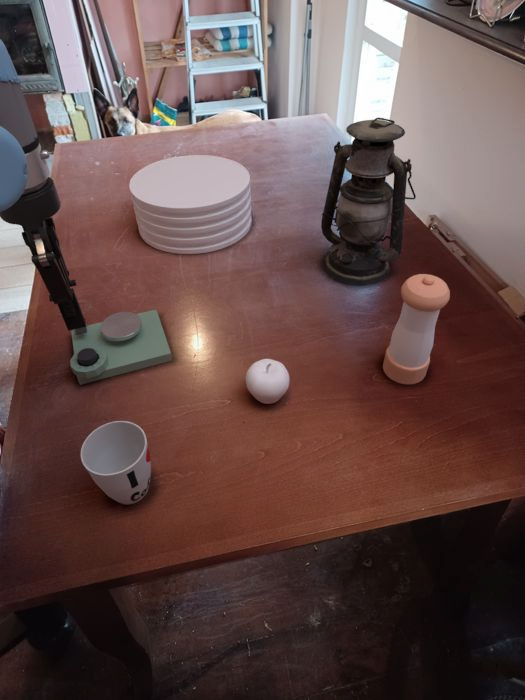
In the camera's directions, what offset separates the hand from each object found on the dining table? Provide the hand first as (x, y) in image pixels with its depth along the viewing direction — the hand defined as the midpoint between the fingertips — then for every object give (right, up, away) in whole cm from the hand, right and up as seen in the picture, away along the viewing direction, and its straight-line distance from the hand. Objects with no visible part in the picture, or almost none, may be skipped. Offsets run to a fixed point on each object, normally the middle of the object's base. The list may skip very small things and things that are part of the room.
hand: (76, 325), depth 75 cm
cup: (+11, -23, -8) cm, 27 cm away
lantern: (+51, +16, +31) cm, 62 cm away
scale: (+4, -4, +12) cm, 13 cm away
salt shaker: (+54, -7, +7) cm, 55 cm away
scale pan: (+2, 0, +11) cm, 11 cm away
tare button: (0, -6, +5) cm, 8 cm away
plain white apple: (+30, -11, +3) cm, 33 cm away
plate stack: (+13, +28, +44) cm, 53 cm away
